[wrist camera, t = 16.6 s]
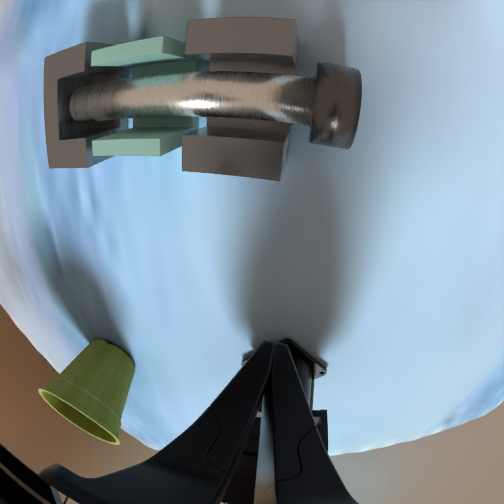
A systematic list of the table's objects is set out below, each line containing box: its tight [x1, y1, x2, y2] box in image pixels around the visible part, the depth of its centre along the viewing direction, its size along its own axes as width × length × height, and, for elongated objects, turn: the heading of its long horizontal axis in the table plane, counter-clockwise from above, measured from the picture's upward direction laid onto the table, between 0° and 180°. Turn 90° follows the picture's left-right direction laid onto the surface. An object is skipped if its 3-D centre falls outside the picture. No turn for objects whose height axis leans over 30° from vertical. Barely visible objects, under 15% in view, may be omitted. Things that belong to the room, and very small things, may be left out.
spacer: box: [91, 36, 202, 156], centre depth 14 cm, size 4×6×6 cm
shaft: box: [70, 62, 362, 150], centre depth 13 cm, size 16×4×4 cm, turn 87°
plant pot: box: [38, 339, 135, 445], centre depth 29 cm, size 12×12×11 cm
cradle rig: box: [44, 17, 298, 181], centre depth 14 cm, size 16×8×5 cm, turn 87°
